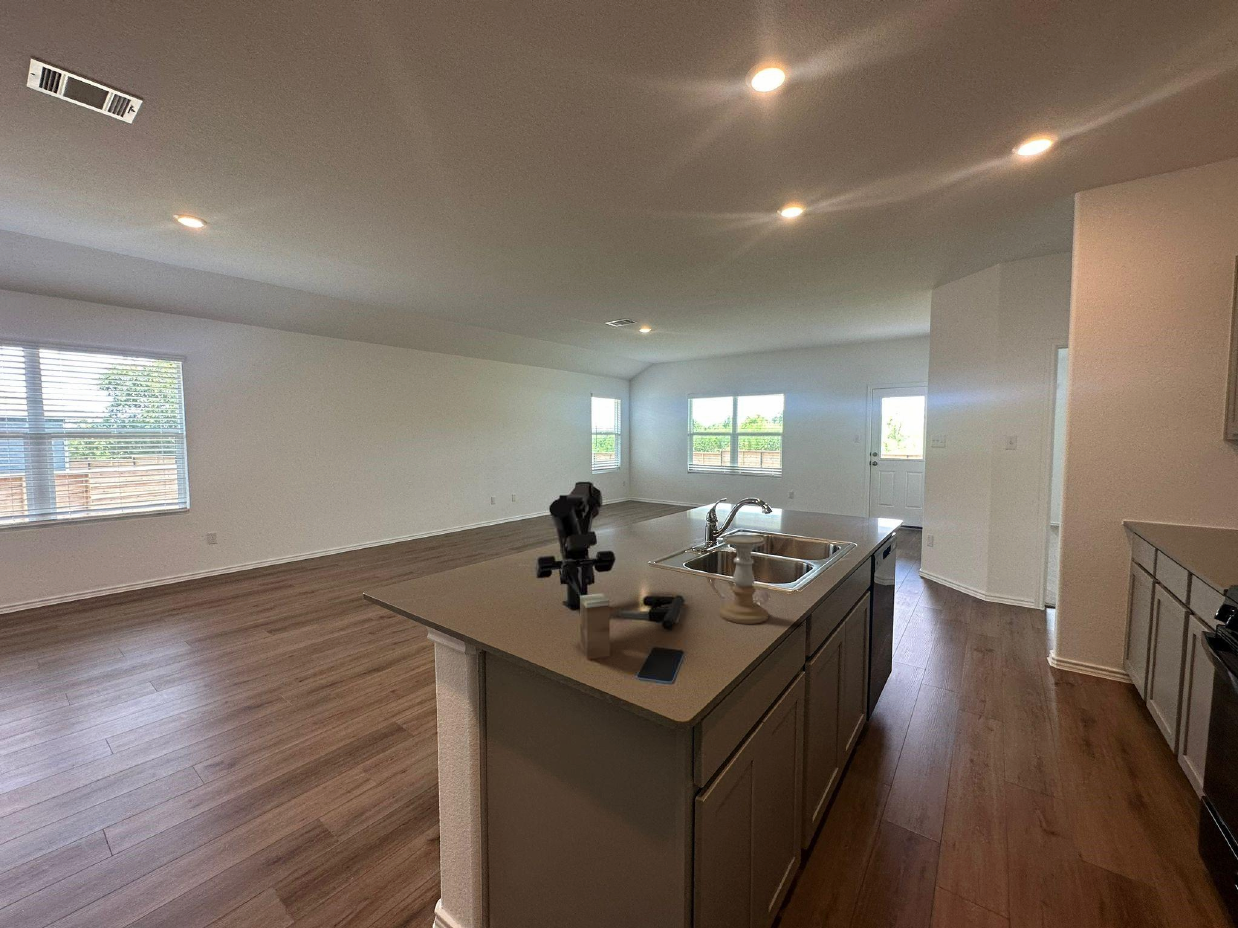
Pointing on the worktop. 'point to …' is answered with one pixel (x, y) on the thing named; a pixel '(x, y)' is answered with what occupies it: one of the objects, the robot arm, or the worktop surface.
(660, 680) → the smartphone
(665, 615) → the door handle
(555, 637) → the worktop surface
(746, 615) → the candle holder
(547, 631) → the worktop surface
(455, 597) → the worktop surface
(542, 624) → the worktop surface
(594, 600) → the beige wooden block
